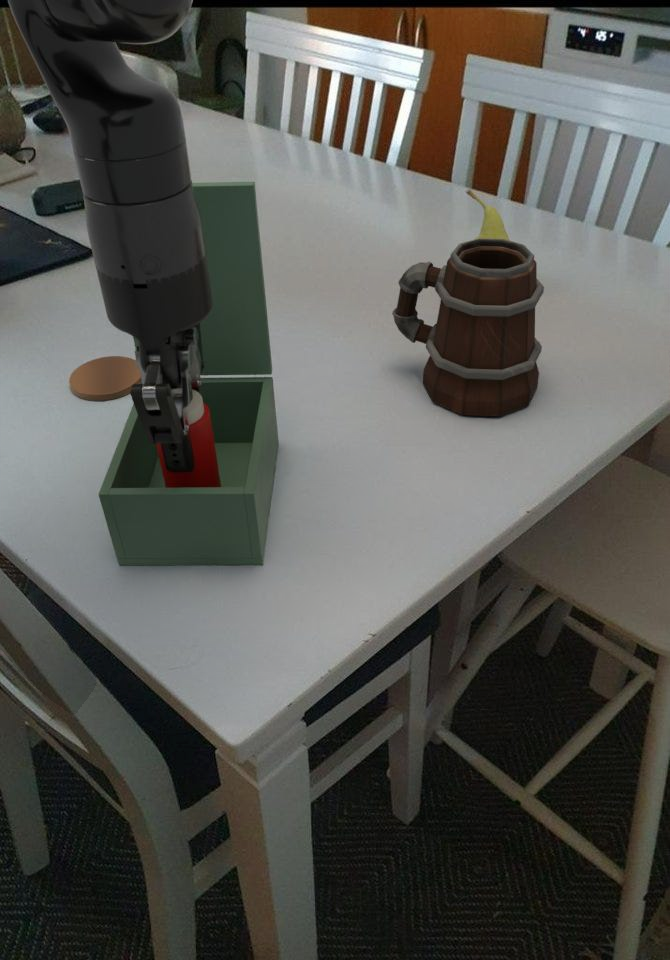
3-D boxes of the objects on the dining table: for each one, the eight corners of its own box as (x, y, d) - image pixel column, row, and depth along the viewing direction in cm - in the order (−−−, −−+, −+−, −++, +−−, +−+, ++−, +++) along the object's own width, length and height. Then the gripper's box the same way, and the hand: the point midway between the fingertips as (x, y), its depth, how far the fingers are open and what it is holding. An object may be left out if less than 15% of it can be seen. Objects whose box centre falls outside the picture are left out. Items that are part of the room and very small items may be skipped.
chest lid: (253, 184, 63) (260, 163, 67) (100, 188, 64) (115, 166, 67) (271, 374, 74) (276, 347, 78) (141, 376, 75) (152, 348, 79)
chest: (262, 565, 67) (253, 493, 62) (118, 565, 67) (98, 494, 63) (278, 444, 80) (272, 376, 75) (157, 445, 80) (143, 378, 75)
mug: (546, 369, 89) (566, 238, 79) (517, 429, 80) (536, 290, 71) (411, 342, 94) (415, 216, 84) (371, 396, 86) (371, 263, 76)
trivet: (81, 409, 86) (79, 402, 85) (62, 374, 91) (61, 368, 91) (153, 387, 88) (152, 381, 88) (131, 355, 94) (130, 349, 93)
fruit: (503, 303, 101) (513, 208, 93) (448, 290, 104) (453, 197, 96) (523, 282, 105) (534, 190, 97) (470, 270, 108) (477, 180, 101)
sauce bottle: (183, 540, 68) (159, 424, 61) (165, 509, 72) (140, 395, 64) (233, 521, 70) (216, 406, 62) (213, 492, 73) (195, 379, 66)
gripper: (119, 212, 61) (158, 401, 72) (66, 301, 50) (121, 508, 61) (218, 210, 61) (242, 400, 72) (186, 299, 50) (220, 507, 61)
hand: (186, 448), depth 66 cm, fingers closed on sauce bottle, 4 cm apart
